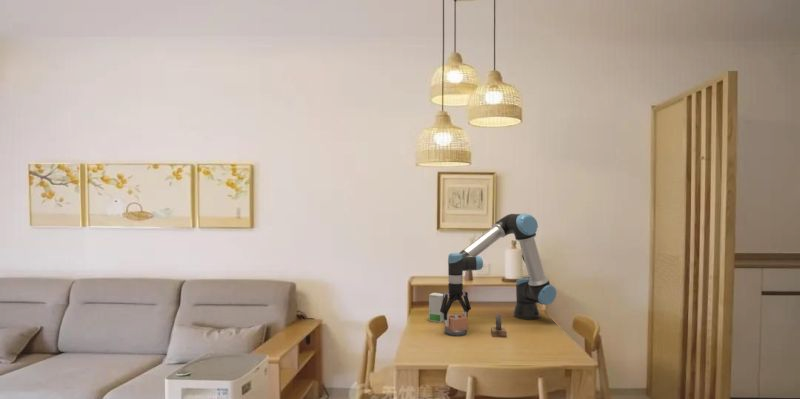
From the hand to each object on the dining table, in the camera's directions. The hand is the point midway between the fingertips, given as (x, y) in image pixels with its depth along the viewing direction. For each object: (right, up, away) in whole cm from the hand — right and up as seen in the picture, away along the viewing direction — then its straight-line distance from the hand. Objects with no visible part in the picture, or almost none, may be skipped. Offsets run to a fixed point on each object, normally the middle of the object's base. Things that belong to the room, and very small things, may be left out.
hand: (455, 324), depth 223 cm
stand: (+22, -4, -4) cm, 22 cm away
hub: (0, -4, 0) cm, 4 cm away
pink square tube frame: (0, -2, 0) cm, 2 cm away
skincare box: (-8, -5, +25) cm, 26 cm away
